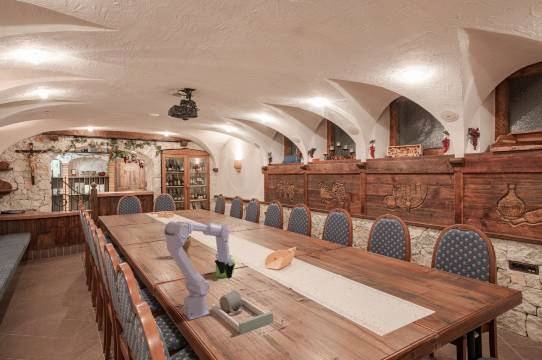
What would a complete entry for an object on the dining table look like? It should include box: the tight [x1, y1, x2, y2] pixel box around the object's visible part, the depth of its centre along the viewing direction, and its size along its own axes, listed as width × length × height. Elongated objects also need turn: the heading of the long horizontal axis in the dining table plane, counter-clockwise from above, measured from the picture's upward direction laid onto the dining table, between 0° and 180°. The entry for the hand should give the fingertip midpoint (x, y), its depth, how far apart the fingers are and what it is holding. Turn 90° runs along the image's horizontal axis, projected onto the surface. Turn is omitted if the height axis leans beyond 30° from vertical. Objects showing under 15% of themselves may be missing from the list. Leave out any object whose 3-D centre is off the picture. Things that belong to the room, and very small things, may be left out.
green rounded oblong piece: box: [215, 257, 236, 278], centre depth 191 cm, size 18×10×10 cm, turn 168°
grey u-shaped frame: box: [211, 296, 274, 335], centre depth 136 cm, size 15×27×4 cm, turn 36°
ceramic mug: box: [219, 289, 244, 315], centre depth 142 cm, size 11×8×8 cm
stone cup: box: [169, 237, 192, 258], centre depth 234 cm, size 15×12×15 cm
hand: (225, 275), depth 153 cm, fingers open, 7 cm apart
